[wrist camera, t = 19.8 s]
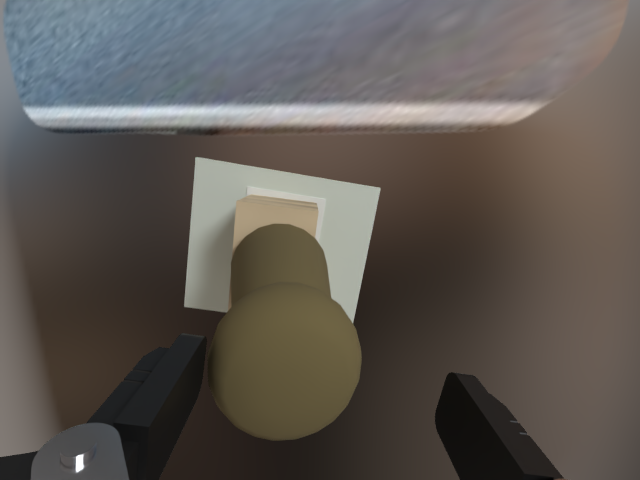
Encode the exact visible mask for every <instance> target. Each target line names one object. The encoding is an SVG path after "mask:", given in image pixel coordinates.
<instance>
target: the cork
mask: <svg viewBox="0 0 640 480" xmlns="http://www.w3.org/2000/svg"><path fill="white" fill-rule="evenodd" d="M360 368H361V348H360V344H359V340H358V336H357V332H356V329H355V327H354V325H353V323H352V321H351V320H350V318H349V317H348V315H347V314H346V312H345V311H344V310H343V308H342V307H341V305H340V304H339V303H337V302H336V301H335V300H333V299H332V298H331V291H330V283H329V276H328V268H327V262H326V258H325V254H324V251H323V249H322V247H321V246H320V244H319V243H318V241H317V240H316V238H314V237H313V236H312V235H310V234H309V233H308V232H307V231H305V230H304V229H302V228H299V227H296V226H293V225H291V224H270V225H267V226H263V227H259V228H257V229H256V230H254V231H253V232H251V233H250V234H248V235H247V236H245V238H244V239H243V240H242V241H241V243H240V244H239V245H238V246H237V248H236V250H235V252H234V255H233V258H232V261H231V308H230V309H229V311H228V312H227V313H226V314H225V316H224V317H223V318H222V319H221V320H220V322H219V323H218V326H217V329H216V332H215V334H214V337H213V340H212V342H211V345H210V348H209V351H208V382H209V387H210V389H211V392H212V395H213V397H214V399H215V402H216V404H217V406H218V407H219V409H220V410H221V411H222V412H223V413H224V414H225V416H226V417H227V418H228V419H229V420H230V421H231V422H232V423H233V424H234V425H235V426H236V427H237V428H239V429H241V430H243V431H245V432H246V433H248V434H250V435H252V436H254V437H259V438H264V439H269V440H274V441H277V440H291V439H298V438H301V437H304V436H307V435H310V434H313V433H316V432H317V431H319V430H320V429H322V428H323V427H325V426H327V425H328V424H330V423H331V422H333V421H334V420H335V419H336V418H337V417H338V415H339V414H340V413H341V412H342V411H343V410H344V409H345V408H346V407H347V405H348V403H349V401H350V399H351V396H352V394H353V392H354V390H355V388H356V386H357V384H358V381H359V377H360Z"/></svg>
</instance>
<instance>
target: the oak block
mask: <svg viewBox="0 0 640 480" xmlns="http://www.w3.org/2000/svg"><path fill="white" fill-rule="evenodd" d="M318 213H319V211H318V206H317V203H314V202H306V201H299V200H291V199H284V198H276V197H269V196H261V195H253V194H251V195H248V196H246V197H244V198H242V199H240V200H237V201H236V213H235V226H234V239H233V252H232V258H233V255H234V252H235V250H236V248H237V246H238V245H239V244H240V243H241V241H242V240H243V239H244V238H245V236H247V235H248V234H250V233H251V232H253V231H254V230H256V229H257V228H259V227H263V226H267V225H270V224H291V225H293V226H296V227H299V228H302V229H304V230H305V231H307V232H308V233H309V234H310V235H312V236H313V237H314V238H315V235H316V227H317V220H318ZM230 308H231V277H230V290H229V303H228V311H229V309H230Z"/></svg>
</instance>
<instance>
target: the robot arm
mask: <svg viewBox="0 0 640 480" xmlns="http://www.w3.org/2000/svg"><path fill="white" fill-rule="evenodd" d="M206 342H207V339H206V337H205V336H197V335H191V334H184V333H182V334H180V335H179V337H178V338H177V339H176V341H175V342H174V343H173V344H172V346H171V347H170V348H162V347H159V348H157V349H155V350H154V351H152V352H150V353H148V354H147V355H145V356H143V358H142V359H141V360H140V361H139V362H138V364H137V365H136V366H135V367H134V368H133V371H131V372H130V373H129V374H128V375H127V376H126V378H125V379H124V381H123V382H121V383H120V384H119V386H118V387H117V388H116V389H115V390H114V392H113V393H112V394H111V395H110V396H109V397H108V398H107V400H106V401H105V402H104V403H103V404H102V405H101V407H100V408H99V409H98V410H97V411H96V412H95V414H94V415H93V416H92V417H91V418H90V419H89V421H88V422H87V423H86V424H82V425H78V426H75V427H72V428H70V429H67V430H65V431H63V432H61V433H59V434H58V435H56V436H55V437H53V438H52V439H50V440H49V441H48V442H47V443H46V444H44V445H43V447H42V448H41V449H40V450H39V451H36V452H31V453H26V454H19V455H12V456H6V457H0V480H159V478H160V476H161V474H162V472H163V470H164V468H165V466H166V464H167V461H168V459H169V457H170V455H171V453H172V451H173V449H174V447H175V445H176V443H177V440H178V438H179V436H180V434H181V432H182V430H183V428H184V426H185V424H186V422H187V419H188V417H189V415H190V413H191V411H192V409H193V407H194V405H195V403H196V400H197V398H198V395H199V392H200V388H201V384H202V379H203V370H204V361H205V352H206ZM435 424H436V429H437V432H438V434H439V436H440V438H441V441H442V442H443V444H444V447H445V449H446V451H447V453H448V455H449V457H450V459H451V462H452V464H453V466H454V468H455V470H456V472H457V474H458V476H459V478H460V480H568V479H564V478H563V477H562V475H561V474H560V473H559V472H558V470H557V469H556V468H555V467H554V465H552V463H551V462H550V461H549V459H548V458H547V457H546V455H545V454H544V453H543V452H542V451H541V449H540V448H539V447H538V446H537V444H536V443H535V442H534V441H533V439H532V438H531V437H530V436H528V435H527V432H526V431H525V429H524V428H523V427H522V426H521V425H520V424H519V423H517V420H516V418H515V417H514V416H513V415H512V413H511V412H510V411H509V410H508V408H507V407H506V406H505V405H503V404H502V403H501V402H500V401H499V400H497V399H496V398H495V397H494V396H492V395H491V394H489V393H488V392H487V390H486V389H485V388H484V387H483V385H482V384H481V383H480V381H479V380H478V379H477V378H476V377H475V376H473V375H466V374H460V373H452V372H451V373H449V374H448V375H447V377H446V380H445V383H444V386H443V390H442V393H441V396H440V399H439V402H438V405H437V408H436V413H435Z"/></svg>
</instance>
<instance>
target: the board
mask: <svg viewBox="0 0 640 480" xmlns="http://www.w3.org/2000/svg"><path fill="white" fill-rule="evenodd" d="M251 194H253V195H261V196H269V197H276V198H284V199H291V200H299V201H306V202H314V203H317V206H318V211H319V213H318V220H317V227H316V235H315V238H316V240H317V241H318V243H319V244H320V246H321V247H322V249H323V251H324V254H325V258H326V262H327V268H328V276H329V283H330V291H331V298H332V299H333V300H335V301H336V302H337V303H339V304H340V305H341V307H342V308H343V310H344V311H345V312H346V314H347V315H348V317H349V318H350V320H351V321H352V323H353V320H354V316H355V311H356V306H357V301H358V296H359V291H360V286H361V282H362V277H363V272H364V267H365V262H366V257H367V252H368V247H369V242H370V238H371V232H372V228H373V222H374V218H375V213H376V208H377V203H378V198H379V194H380V188H378V187H372V186H366V185H360V184H354V183H348V182H342V181H336V180H330V179H324V178H318V177H312V176H306V175H301V174H294V173H289V172H283V171H277V170H271V169H265V168H258V167H253V166H246V165H241V164H235V163H228V162H223V161H217V160H211V159H205V158H199V157H196V159H195V173H194V185H193V199H192V211H191V223H190V237H189V249H188V262H187V275H186V288H185V301H184V307H190V308H197V309H204V310H212V311H219V312H226V313H227V312H228V303H229V290H230V277H231V261H232V252H233V239H234V226H235V213H236V201H237V200H240V199H242V198H244V197H246V196H248V195H251Z"/></svg>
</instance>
